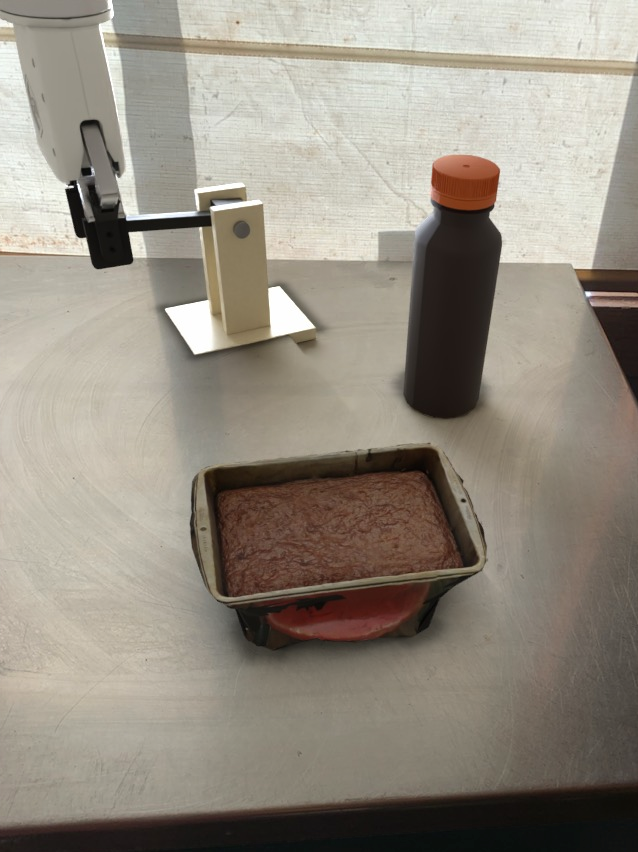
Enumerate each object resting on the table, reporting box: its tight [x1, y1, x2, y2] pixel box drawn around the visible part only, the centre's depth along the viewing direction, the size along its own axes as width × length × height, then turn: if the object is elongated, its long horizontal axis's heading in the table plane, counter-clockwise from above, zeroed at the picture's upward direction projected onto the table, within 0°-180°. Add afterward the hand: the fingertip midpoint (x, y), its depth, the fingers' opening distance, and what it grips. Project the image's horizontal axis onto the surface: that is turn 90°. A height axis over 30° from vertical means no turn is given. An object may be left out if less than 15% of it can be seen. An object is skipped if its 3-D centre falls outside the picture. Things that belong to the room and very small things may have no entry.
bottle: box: [402, 154, 503, 419], centre depth 64 cm, size 7×7×20 cm
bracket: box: [164, 182, 317, 356], centre depth 72 cm, size 12×9×13 cm
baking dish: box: [189, 442, 488, 651], centre depth 52 cm, size 14×18×10 cm
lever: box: [84, 198, 244, 233], centre depth 67 cm, size 13×5×2 cm, turn 119°
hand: (103, 247), depth 66 cm, fingers closed on lever, 5 cm apart
